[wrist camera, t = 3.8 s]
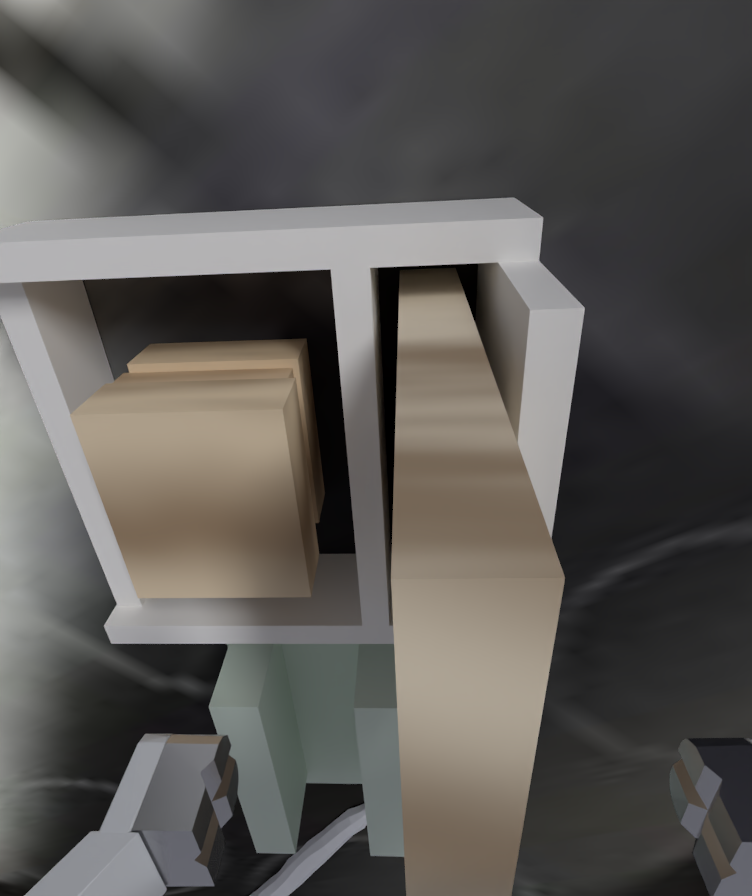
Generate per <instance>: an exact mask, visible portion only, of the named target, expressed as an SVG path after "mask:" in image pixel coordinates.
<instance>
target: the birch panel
mask: <svg viewBox="0 0 752 896" xmlns="http://www.w3.org/2000/svg"><path fill="white" fill-rule="evenodd" d="M564 582H565V576H564V573H563V570H562V568H561V565H560V562H559V559H558V556H557V553H556V551H555V548H554V545H553V542H552V539H551V536H550V534H549V531H548V528H547V525H546V522H545V519H544V517H543V514H542V511H541V508H540V505H539V502H538V500H537V497H536V494H535V491H534V488H533V485H532V483H531V480H530V477H529V474H528V471H527V468H526V466H525V463H524V460H523V457H522V454H521V451H520V449H519V446H518V443H517V440H516V437H515V435H514V432H513V429H512V426H511V423H510V420H509V418H508V415H507V412H506V409H505V406H504V403H503V401H502V398H501V395H500V392H499V389H498V386H497V384H496V381H495V378H494V375H493V372H492V369H491V367H490V364H489V361H488V358H487V355H486V352H485V350H484V347H483V344H482V341H481V338H480V335H479V333H478V330H477V327H476V324H475V321H474V318H473V316H472V313H471V310H470V307H469V304H468V301H467V299H466V296H465V293H464V290H463V287H462V284H461V282H460V279H459V276H458V273H457V270H456V268H435V269H411V270H400V276H399V312H398V347H397V383H396V418H395V454H394V489H393V525H392V560H391V590H392V610H393V631H394V652H395V672H396V693H397V714H398V734H399V755H400V775H401V796H402V817H403V837H404V858H405V879H406V896H511V894H512V888H513V882H514V876H515V870H516V864H517V859H518V853H519V847H520V841H521V835H522V829H523V823H524V817H525V811H526V806H527V800H528V794H529V788H530V782H531V776H532V770H533V764H534V759H535V753H536V747H537V741H538V735H539V729H540V723H541V717H542V711H543V706H544V700H545V694H546V688H547V682H548V676H549V670H550V664H551V658H552V653H553V647H554V641H555V635H556V629H557V623H558V617H559V611H560V605H561V600H562V594H563V588H564Z"/></svg>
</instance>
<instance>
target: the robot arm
mask: <svg viewBox="0 0 752 896" xmlns="http://www.w3.org/2000/svg"><path fill="white" fill-rule="evenodd" d="M230 749H231V743H230V740H229V738H228V735H189V734H145V735H144V736H143V737H142V739H141V740H140V741H139V743H138V744H137V746H136V748H135V751H134V753H133V755H132V757H131V760H130V762H129V764H128V766H127V769H126V771H125V773H124V776H123V778H122V780H121V782H120V785H119V787H118V789H117V791H116V794H115V796H114V798H113V801H112V803H111V805H110V807H109V810H108V812H107V814H106V816H105V819H104V821H103V823H102V826H101V828H100V830H99V831H91V832H90V833H89V834H88V835H86V836H85V837H84V838H83V839H82V840H81V841H80V842H79V843H78V844H77V845H76V846H75V847H74V848H73V849H72V850H71V851H70V852H69V853H68V854H67V855H66V856H65V857H64V858H63V859H62V860H61V861H60V862H59V863H58V864H56V865H55V866H54V867H53V868H52V869H51V870H50V871H49V872H48V873H47V874H46V875H45V876H44V877H43V878H42V879H41V880H40V881H39V882H38V883H37V884H36V885H35V886H34V887H33V888H32V889H31V890H30V891H29V892H28V893H26V894H25V895H24V896H163V895H164V893H165V892H166V891H167V888H166V886H215V883H216V879H217V875H218V871H219V867H220V863H221V859H222V856H223V852H224V848H225V844H226V842H225V839H224V836H223V834H222V831H221V828H222V827H223V826H224V825H225V823H226V822H227V821H228V820H229V819H230V818H231V817H232V816H233V812H234V807H235V803H236V799H237V791H238V782H239V776H238V766H237V763H236V760H235V759H234V758H232V757H231V756H230V755H229V752H230ZM678 751H679V753H680V755H681V758H682V759H681V760H680V761H678V762H676V763H675V764H673V765H672V769H671V772H670V776H669V781H670V793H671V797H672V801H673V805H674V808H675V811H676V813H677V816H678V818H679V821H680V823H681V824H682V825H683V826H684V827H685V828H686V829H687V830H688V831H689V832H690V833H691V834H692V835H693V836H694V837H695V838H696V840H695V844H694V848H693V852H692V853H693V856H694V858H695V861H696V863H697V865H698V868H699V870H700V873H701V875H702V878H703V880H704V882H705V885H706V887H707V890H708V892H709V895H710V896H752V738H688V739H685V740H683V741H681V744H680V746H679V749H678Z"/></svg>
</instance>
